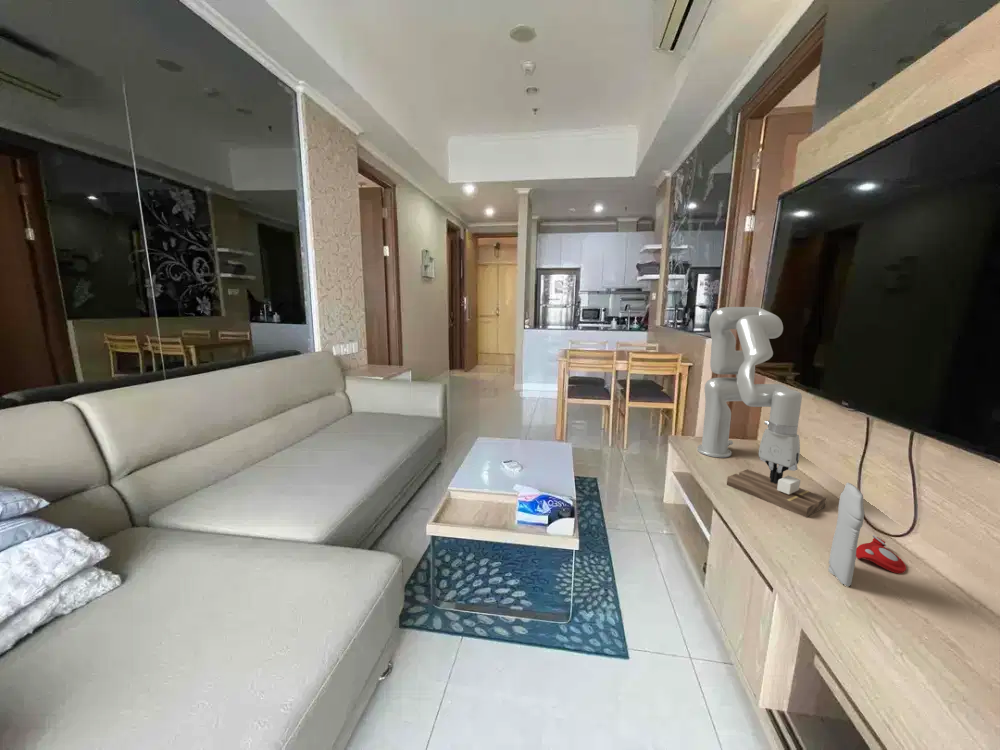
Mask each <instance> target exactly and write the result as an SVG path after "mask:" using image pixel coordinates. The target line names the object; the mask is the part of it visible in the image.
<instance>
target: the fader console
mask: <svg viewBox="0 0 1000 750" xmlns="http://www.w3.org/2000/svg"><path fill="white" fill-rule="evenodd" d="M770 480H771V478H770V476H767V475H764V474H762V473H759V472H756V471H754V470H750V469H748V468H746V469H744V470H742V471H740V472H738V473H734V474H731V475H729V476H727V478H726V486H728V487H730V488H734V489H736V490H738V491H741V492H743V493H746V494H748V495H751V496H753V497H755V498H758V499H760V500H763V501H765V502H768V503H770V504H773V505H775V506H778V507H780V508H782V509H784V510H786V511H790V512H792V513H795V514H797V515H800V516H802V517H805V518H807V517H809V516H812V515H813V514H815V513H816V512H819V511H820V510H821V509H823V508H826V504H827V497H826V496H823V495H820V494H818V493H815V492H812V491H811V490H806V489H804V488H801V487H799V490H798V491H795V492H793V493H791V494H786V493H784V492H781V491H778V490H777V486H778V483H777V484H774V483H772V482H770Z"/></svg>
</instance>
